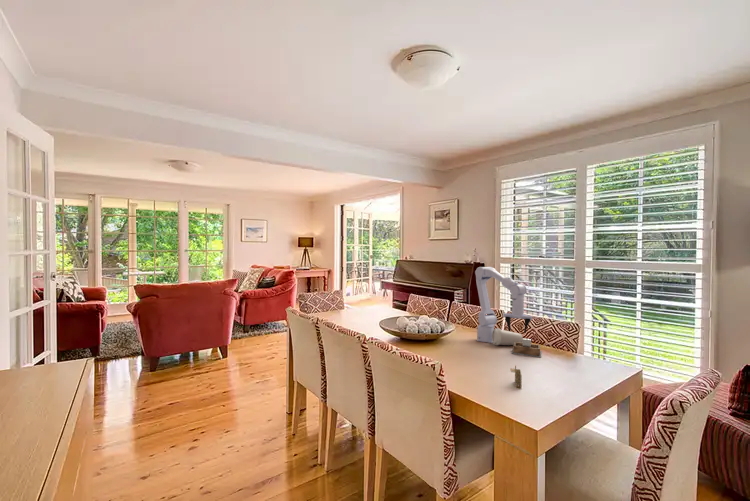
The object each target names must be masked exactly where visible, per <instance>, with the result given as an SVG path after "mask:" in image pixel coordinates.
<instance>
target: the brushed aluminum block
mask: <svg viewBox="0 0 750 501" xmlns="http://www.w3.org/2000/svg"><path fill="white" fill-rule="evenodd" d="M522 343H523V347H530V348H531V344H532V338H524V337H523V342H522Z"/></svg>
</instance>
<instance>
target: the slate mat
mask: <svg viewBox="0 0 750 501" xmlns="http://www.w3.org/2000/svg"><path fill="white" fill-rule="evenodd" d="M511 354H513V355H520V356H527V357H536V358H542V351H541V350H540V356H537V355H529V354H522V353H514V352H513V349H512V350H511Z"/></svg>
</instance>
